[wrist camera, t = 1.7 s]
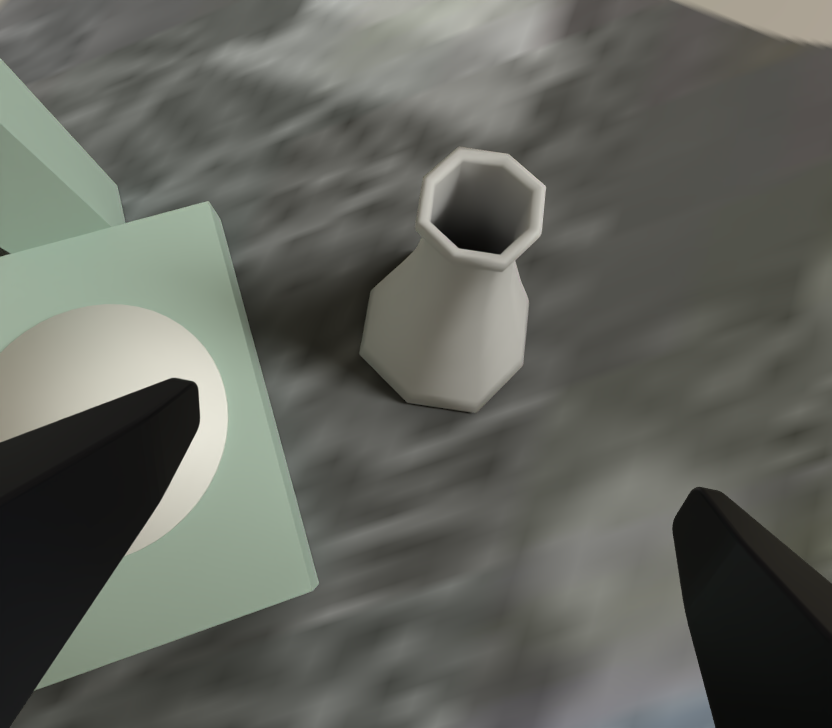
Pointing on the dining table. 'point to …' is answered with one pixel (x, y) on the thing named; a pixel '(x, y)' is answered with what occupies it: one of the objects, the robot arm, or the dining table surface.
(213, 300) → the bench press
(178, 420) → the robot arm
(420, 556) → the dining table surface
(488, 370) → the flask
